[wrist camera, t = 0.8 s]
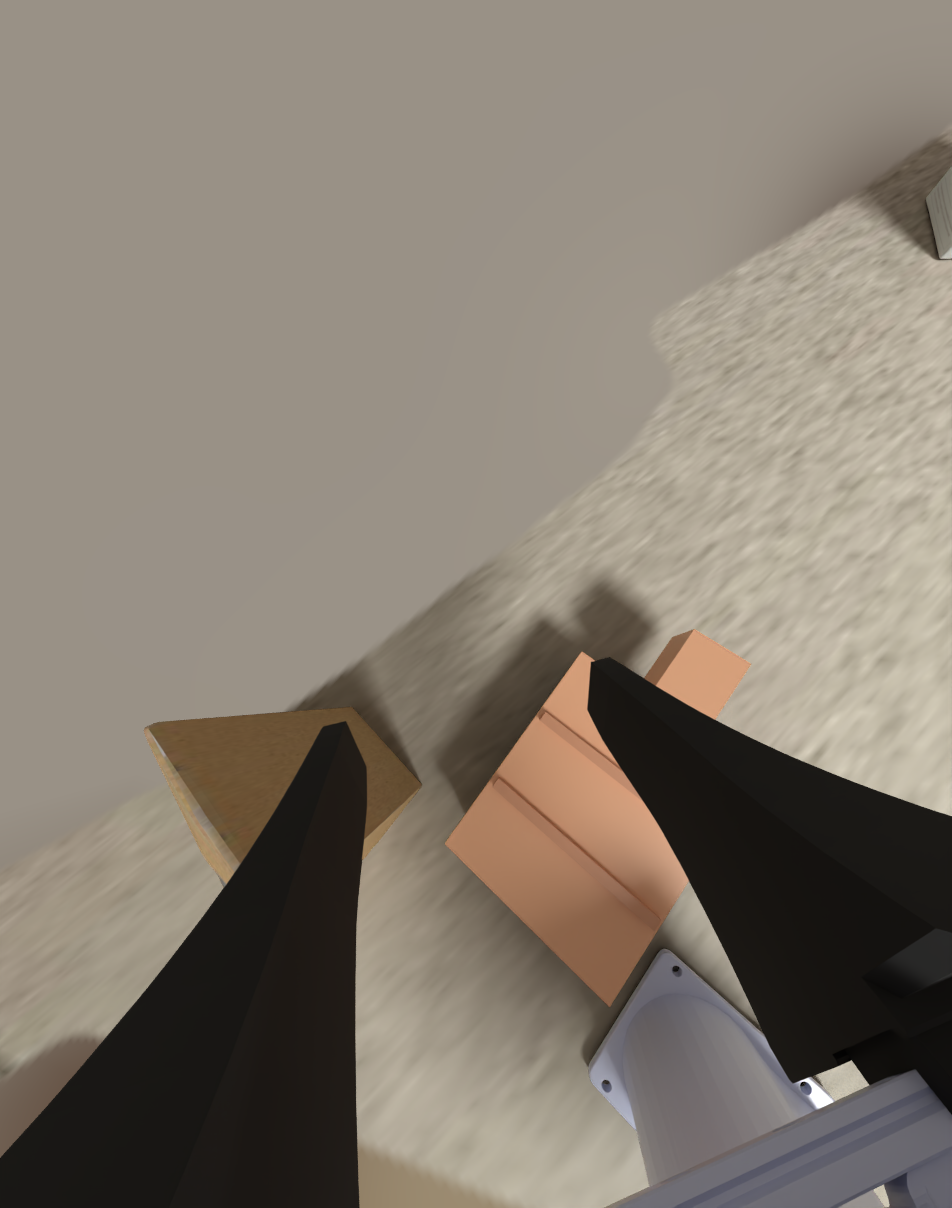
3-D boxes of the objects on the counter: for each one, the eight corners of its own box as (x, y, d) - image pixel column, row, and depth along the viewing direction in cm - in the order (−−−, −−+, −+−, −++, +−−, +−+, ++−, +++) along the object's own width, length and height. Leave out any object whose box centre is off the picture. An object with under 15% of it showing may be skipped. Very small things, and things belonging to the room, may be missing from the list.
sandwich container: (209, 859, 26) (-197, 1072, 11) (349, 702, 27) (141, 718, 13) (274, 963, 23) (-133, 1396, 9) (425, 787, 25) (275, 924, 10)
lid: (786, 709, 19) (831, 713, 16) (606, 995, 17) (621, 1055, 15) (616, 602, 22) (628, 589, 19) (447, 838, 20) (433, 863, 17)
